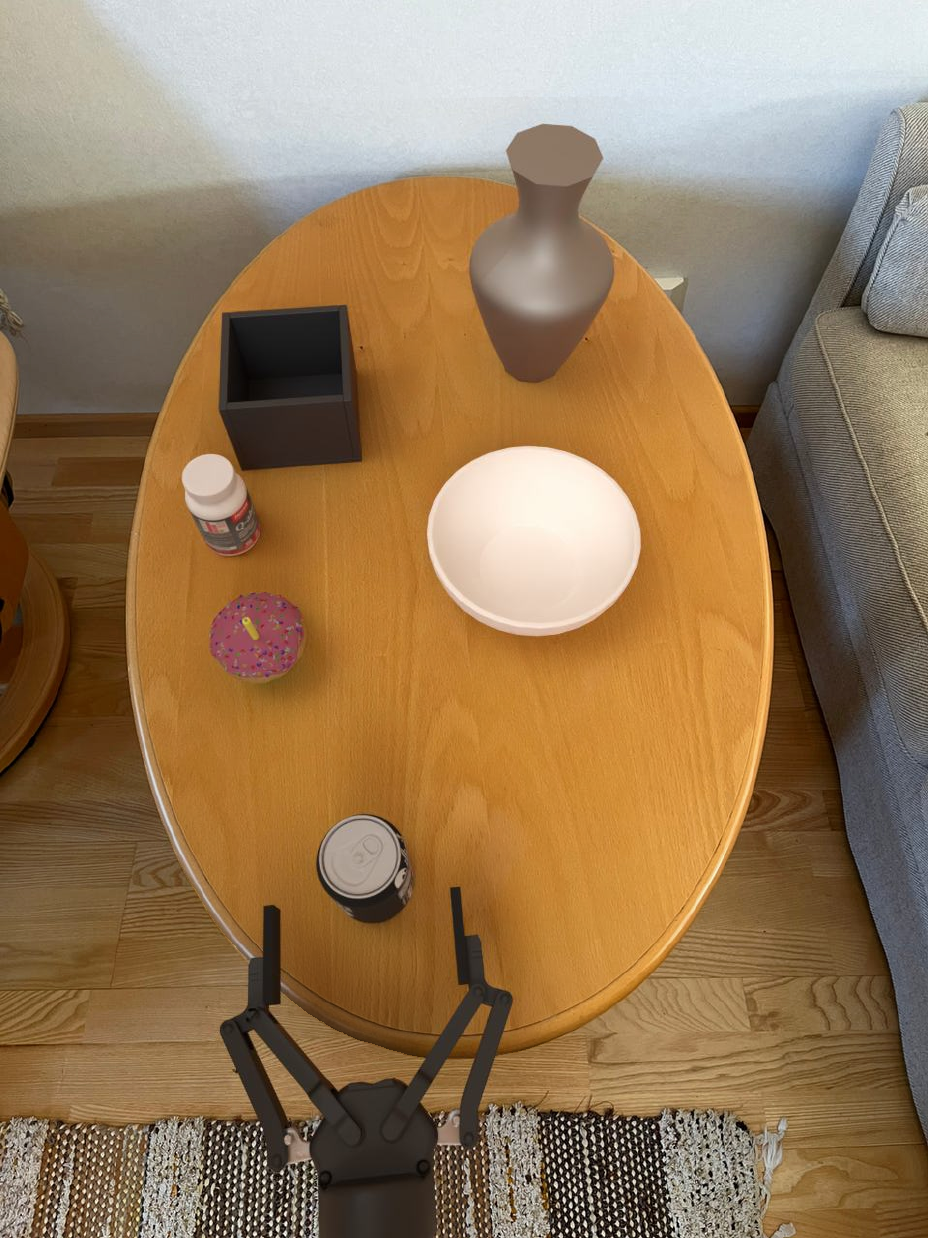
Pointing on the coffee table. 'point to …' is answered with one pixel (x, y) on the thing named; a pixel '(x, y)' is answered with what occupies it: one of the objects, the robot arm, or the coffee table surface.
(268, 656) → the cupcake
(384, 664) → the coffee table surface
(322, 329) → the trash bin
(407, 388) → the coffee table surface
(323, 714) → the coffee table surface
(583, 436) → the coffee table surface
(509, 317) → the vase
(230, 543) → the pill bottle
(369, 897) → the beverage can
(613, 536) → the bowl
